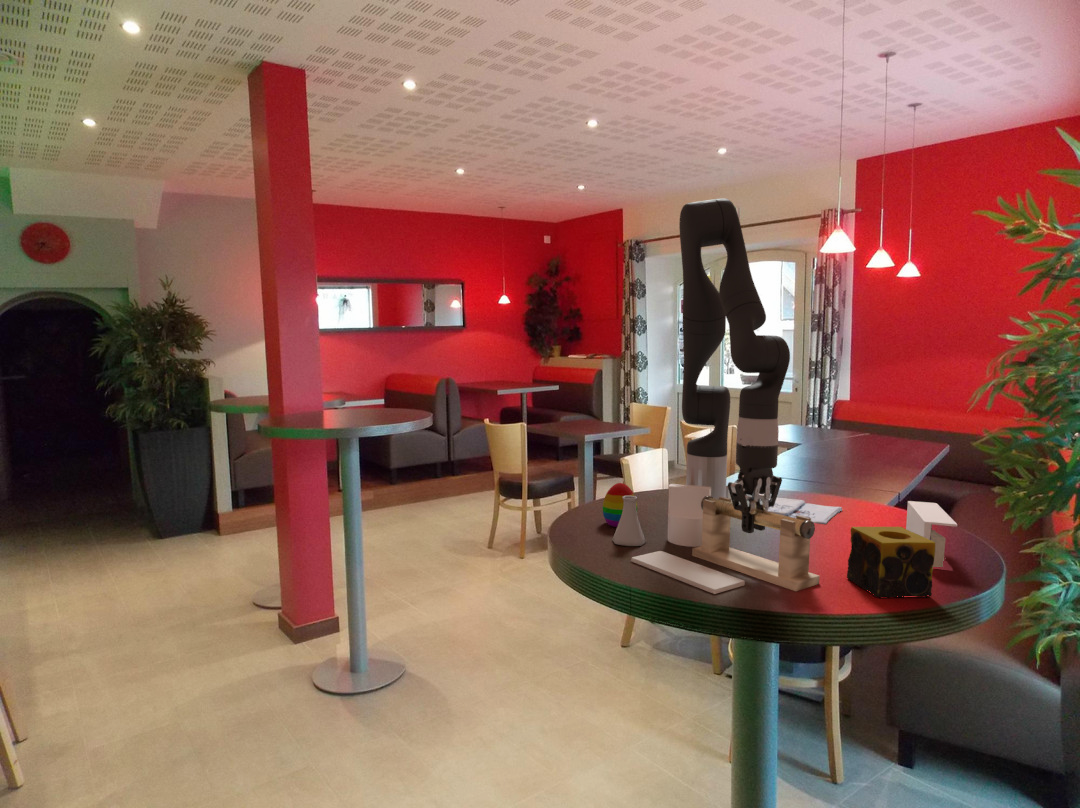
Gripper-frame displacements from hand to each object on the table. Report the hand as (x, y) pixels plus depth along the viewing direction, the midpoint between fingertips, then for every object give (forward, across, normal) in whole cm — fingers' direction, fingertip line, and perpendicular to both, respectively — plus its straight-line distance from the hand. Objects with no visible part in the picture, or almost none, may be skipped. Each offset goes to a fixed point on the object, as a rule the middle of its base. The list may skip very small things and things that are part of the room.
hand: (753, 530), depth 131 cm
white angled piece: (+8, -38, +14) cm, 41 cm away
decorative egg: (+8, 0, -38) cm, 39 cm away
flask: (+8, +8, -26) cm, 28 cm away
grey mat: (+8, +12, -6) cm, 16 cm away
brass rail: (-1, 0, 0) cm, 1 cm away
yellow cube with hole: (+8, -12, +20) cm, 25 cm away
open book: (+8, -47, -23) cm, 53 cm away
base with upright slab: (+8, -4, -20) cm, 22 cm away
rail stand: (+8, 0, 0) cm, 8 cm away
